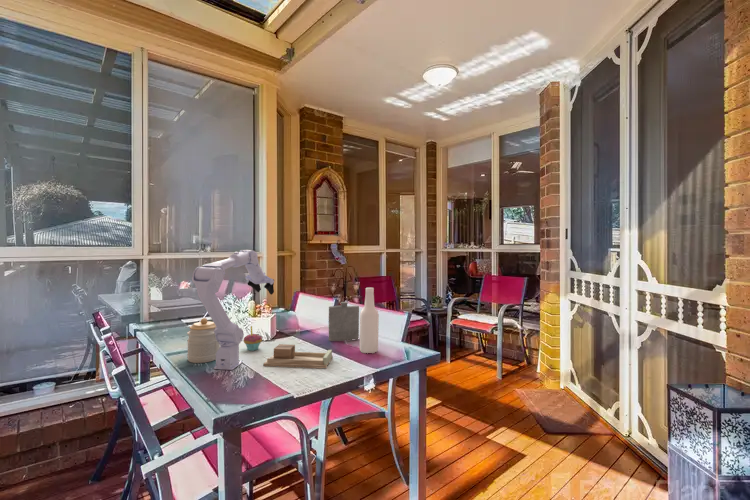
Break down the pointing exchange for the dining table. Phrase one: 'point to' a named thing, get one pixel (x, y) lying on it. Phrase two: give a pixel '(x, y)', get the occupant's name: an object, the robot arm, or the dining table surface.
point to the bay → (302, 360)
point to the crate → (284, 351)
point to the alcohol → (369, 324)
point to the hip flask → (343, 322)
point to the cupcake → (252, 341)
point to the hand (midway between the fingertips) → (265, 291)
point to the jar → (202, 342)
